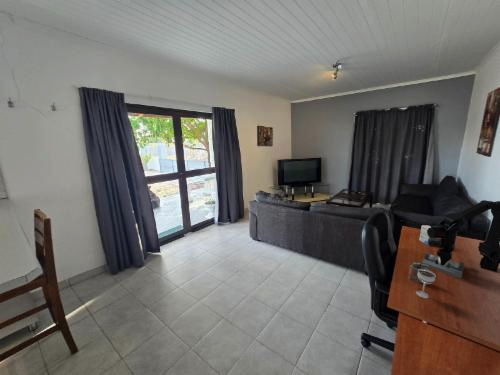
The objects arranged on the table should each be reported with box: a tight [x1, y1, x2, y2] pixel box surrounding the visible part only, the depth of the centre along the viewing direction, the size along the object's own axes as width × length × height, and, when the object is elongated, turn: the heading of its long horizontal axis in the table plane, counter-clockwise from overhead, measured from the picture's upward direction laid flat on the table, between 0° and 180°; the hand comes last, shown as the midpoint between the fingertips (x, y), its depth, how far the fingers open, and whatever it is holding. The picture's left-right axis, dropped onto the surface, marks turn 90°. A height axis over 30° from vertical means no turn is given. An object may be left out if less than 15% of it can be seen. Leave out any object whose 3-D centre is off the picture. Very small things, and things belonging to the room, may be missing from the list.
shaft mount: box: [421, 251, 465, 280], centre depth 125 cm, size 17×14×6 cm
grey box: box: [407, 262, 430, 284], centre depth 113 cm, size 8×3×10 cm, turn 62°
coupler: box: [436, 256, 449, 268], centre depth 125 cm, size 5×5×7 cm
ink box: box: [418, 224, 431, 247], centre depth 151 cm, size 9×5×12 cm, turn 179°
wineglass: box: [415, 269, 437, 299], centre depth 103 cm, size 7×7×12 cm
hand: (443, 262), depth 125 cm, fingers open, 9 cm apart
